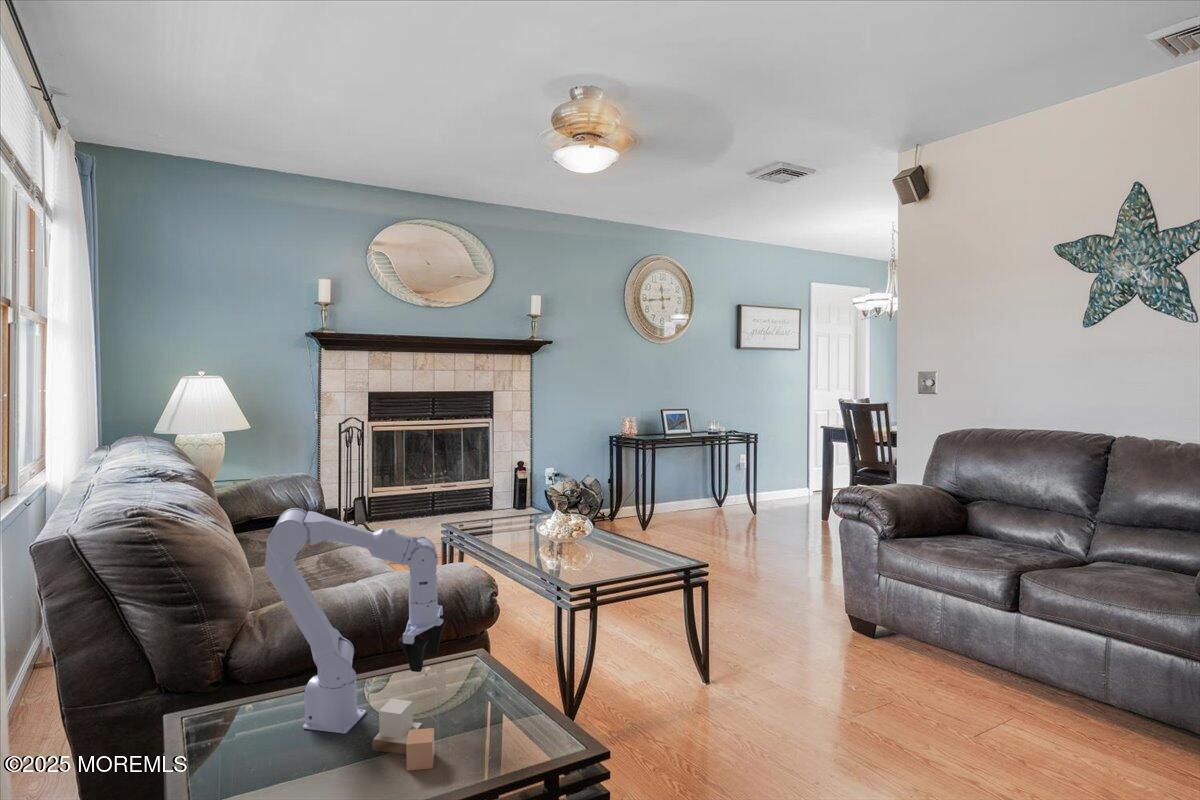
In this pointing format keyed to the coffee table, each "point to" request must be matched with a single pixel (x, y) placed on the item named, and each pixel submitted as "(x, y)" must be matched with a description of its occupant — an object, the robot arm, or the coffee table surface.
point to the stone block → (396, 718)
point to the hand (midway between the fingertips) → (424, 661)
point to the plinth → (393, 742)
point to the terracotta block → (420, 749)
